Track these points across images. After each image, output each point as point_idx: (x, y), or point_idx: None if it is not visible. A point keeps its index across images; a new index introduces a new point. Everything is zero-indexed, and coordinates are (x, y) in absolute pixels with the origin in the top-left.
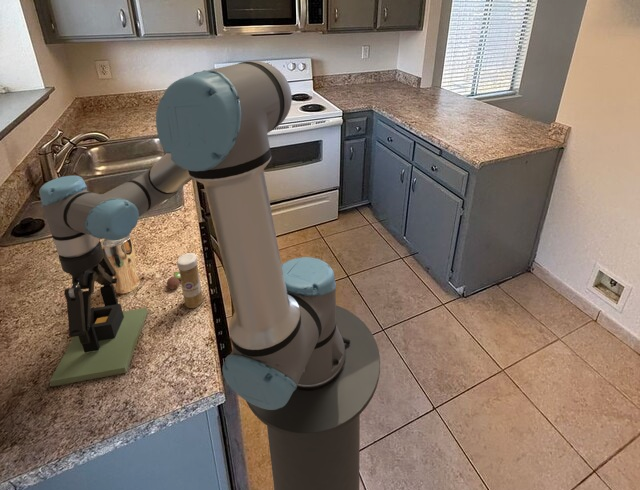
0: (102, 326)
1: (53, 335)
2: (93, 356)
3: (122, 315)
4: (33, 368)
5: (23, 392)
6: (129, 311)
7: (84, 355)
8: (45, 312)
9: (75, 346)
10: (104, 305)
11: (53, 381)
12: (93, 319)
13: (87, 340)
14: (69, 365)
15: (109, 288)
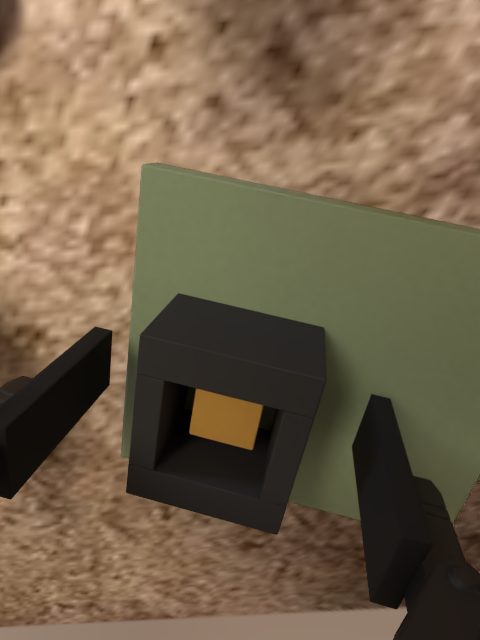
0: (311, 422)
1: (165, 525)
2: (401, 411)
3: (183, 303)
4: (303, 563)
5: None
6: (144, 266)
7: None
8: (41, 550)
9: None
10: (92, 403)
11: None
12: (190, 448)
13: (444, 508)
14: None
15: (13, 439)
